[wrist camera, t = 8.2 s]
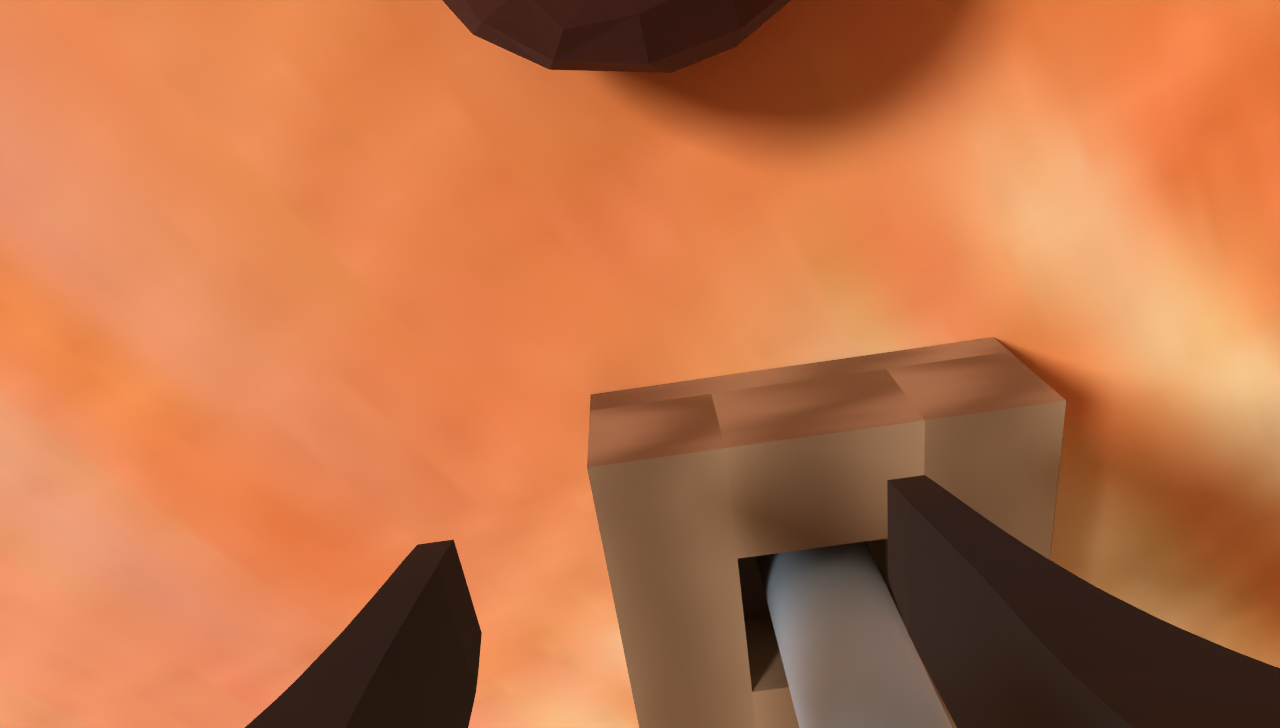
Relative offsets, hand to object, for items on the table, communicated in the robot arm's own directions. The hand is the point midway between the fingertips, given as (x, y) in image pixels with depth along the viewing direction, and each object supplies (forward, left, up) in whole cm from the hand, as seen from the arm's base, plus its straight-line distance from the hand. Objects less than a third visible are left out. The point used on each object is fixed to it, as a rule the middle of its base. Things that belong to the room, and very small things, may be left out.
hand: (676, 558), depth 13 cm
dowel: (-4, +8, -9) cm, 13 cm away
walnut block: (-4, +8, -10) cm, 14 cm away
